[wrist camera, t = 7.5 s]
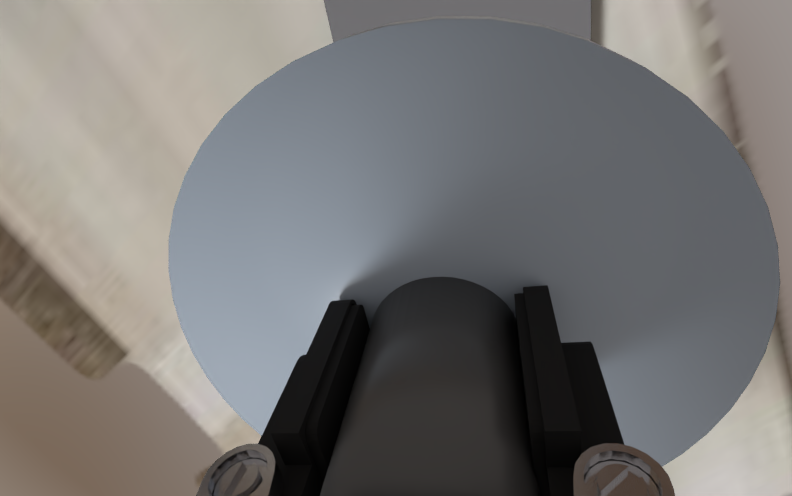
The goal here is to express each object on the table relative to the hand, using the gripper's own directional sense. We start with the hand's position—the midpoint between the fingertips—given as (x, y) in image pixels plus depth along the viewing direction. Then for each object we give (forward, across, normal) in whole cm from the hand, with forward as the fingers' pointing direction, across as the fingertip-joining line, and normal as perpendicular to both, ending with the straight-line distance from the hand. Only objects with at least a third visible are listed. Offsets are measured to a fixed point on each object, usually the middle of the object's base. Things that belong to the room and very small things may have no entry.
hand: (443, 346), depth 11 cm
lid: (+1, 0, 0) cm, 1 cm away
